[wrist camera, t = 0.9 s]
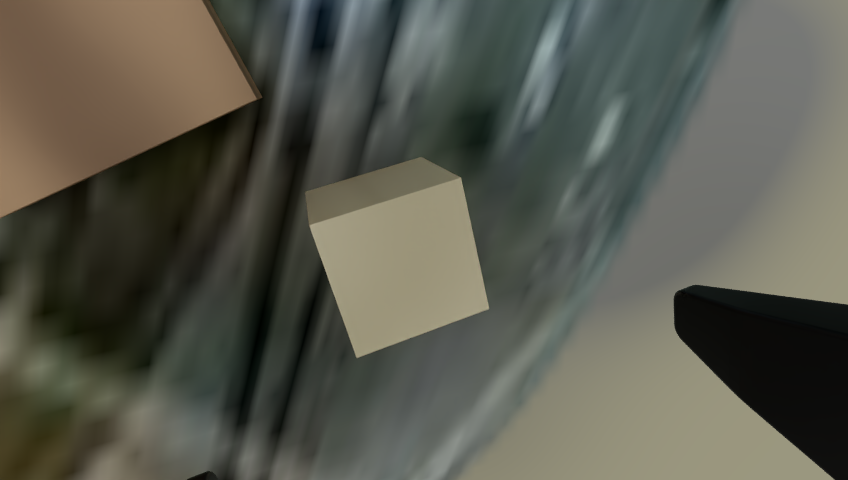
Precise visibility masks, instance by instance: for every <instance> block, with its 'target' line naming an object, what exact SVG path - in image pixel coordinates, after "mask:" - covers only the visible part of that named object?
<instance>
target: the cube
mask: <svg viewBox="0 0 848 480" xmlns="http://www.w3.org/2000/svg"><path fill="white" fill-rule="evenodd" d="M305 197H306V205H307V213H308V221H309V226H310V229H311V232H312V235H313V238H314V240H315V243H316V246H317V249H318V251H319V254H320V257H321V260H322V263H323V265H324V268H325V271H326V274H327V277H328V279H329V282H330V285H331V288H332V290H333V293H334V296H335V299H336V302H337V304H338V307H339V310H340V313H341V316H342V318H343V321H344V324H345V327H346V330H347V332H348V335H349V338H350V341H351V343H352V346H353V349H354V352H355V355H356V357H357V358H358V357H361V356H364V355H366V354H369V353H372V352H374V351H377V350H380V349H382V348H385V347H388V346H391V345H393V344H396V343H399V342H401V341H404V340H407V339H409V338H412V337H415V336H418V335H420V334H423V333H426V332H428V331H431V330H434V329H436V328H439V327H442V326H444V325H447V324H450V323H453V322H455V321H458V320H461V319H463V318H466V317H469V316H471V315H474V314H477V313H479V312H482V311H485V310H488V309H489V305H488V301H487V296H486V291H485V287H484V282H483V278H482V273H481V268H480V264H479V259H478V254H477V250H476V245H475V240H474V236H473V231H472V226H471V222H470V217H469V212H468V208H467V203H466V198H465V194H464V189H463V185H462V180H461V177H459V176H457V175H455V174H453V173H451V172H449V171H447V170H445V169H443V168H441V167H440V166H438V165H436V164H434V163H432V162H430V161H428V160H426V159H424V158H422V157H419V158H416V159H412V160H409V161H406V162H402V163H399V164H396V165H393V166H389V167H386V168H383V169H379V170H376V171H373V172H369V173H366V174H363V175H359V176H356V177H353V178H349V179H346V180H343V181H339V182H336V183H333V184H329V185H326V186H323V187H319V188H316V189H313V190H309V191H306V192H305Z"/></svg>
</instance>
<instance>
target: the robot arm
mask: <svg viewBox="0 0 848 480" xmlns="http://www.w3.org/2000/svg"><path fill="white" fill-rule="evenodd" d="M674 325H675V330H676V332H677V334H678V336H679V337H680V339H681V340H682V341H683V342H684V343H685V344H686V345H687V346H688V347H689V348H690V349H691V350H692V351H693V352H694V353H695V354H696V355H697V356H698V357H699V358H700V359H701V360H702V361H703V362H704V363H705V364H706V365H707V366H708V367H709V368H710V369H711V370H712V371H713V372H714V373H715V374H716V375H717V376H718V377H719V378H720V379H721V380H722V381H723V382H724V383H725V384H726V385H727V386H728V387H729V388H730V389H731V390H732V391H733V392H734V393H735V394H736V395H737V396H738V397H739V398H740V399H741V400H742V401H743V402H744V403H746V404H747V405H748V406H749V407H750V408H752V410H754V411H755V412H756V413H757V414H758V415H759V416H761V417H762V418H763V419H764V420H765V421H766V422H768V423H769V424H770V425H771V426H773V427H774V428H775V429H776V430H777V431H778V432H779V433H781V434H782V435H783V436H784V437H785V438H786V439H788V440H789V441H790V442H791V443H792V444H793V445H795V446H796V447H797V448H798V449H799V450H801V451H802V452H803V453H804V454H805V455H806V456H808V457H809V458H810V459H811V460H812V461H813V462H815V463H816V464H817V465H818V466H819V467H820V468H822V469H823V470H824V471H825V472H826V473H827V474H829V475H830V476H831V477H832V478H833V479H835V480H848V305H846V304H838V303H831V302H823V301H815V300H808V299H801V298H793V297H785V296H777V295H769V294H762V293H755V292H747V291H740V290H732V289H725V288H717V287H709V286H701V285H692V286H689V287H687V288H684V289H682V290H679V291H677V292H676V293H675V296H674ZM187 480H218V478H217V476H216V475H215V474H214V473H213V472H210V471H207V472H204V473H202V474H199V475H197V476H194V477H191V478H189V479H187Z"/></svg>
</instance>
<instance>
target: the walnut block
mask: <svg viewBox="0 0 848 480" xmlns="http://www.w3.org/2000/svg"><path fill="white" fill-rule="evenodd" d="M260 98H263V97H262V95H261V94H260V92H259V90H258V88H257V86H256V85H255V83H254V81H253V79H252V77H251V75H250V74H249V72H248V70H247V68H246V66H245V65H244V63H243V61H242V59H241V57H240V55H239V54H238V52H237V50H236V48H235V46H234V45H233V43H232V41H231V39H230V37H229V35H228V34H227V32H226V30H225V28H224V26H223V25H222V23H221V21H220V19H219V17H218V15H217V14H216V12H215V10H214V8H213V6H212V5H211V3H210V1H209V0H0V218H2V217H4V216H7V215H9V214H11V213H14V212H16V211H18V210H20V209H23V208H25V207H27V206H29V205H31V204H34V203H36V202H38V201H40V200H42V199H44V198H47V197H49V196H51V195H53V194H55V193H57V192H60V191H62V190H64V189H66V188H68V187H70V186H73V185H75V184H77V183H79V182H81V181H83V180H85V179H88V178H90V177H92V176H94V175H96V174H98V173H101V172H103V171H105V170H107V169H109V168H111V167H114V166H116V165H118V164H120V163H122V162H124V161H126V160H129V159H131V158H133V157H135V156H137V155H139V154H142V153H144V152H146V151H148V150H150V149H152V148H155V147H157V146H159V145H161V144H163V143H165V142H168V141H170V140H172V139H174V138H176V137H178V136H180V135H183V134H185V133H187V132H189V131H191V130H193V129H196V128H198V127H200V126H202V125H204V124H206V123H209V122H211V121H213V120H215V119H217V118H219V117H222V116H224V115H226V114H228V113H230V112H232V111H234V110H237V109H239V108H241V107H243V106H245V105H247V104H250V103H252V102H254V101H256V100H258V99H260Z"/></svg>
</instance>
